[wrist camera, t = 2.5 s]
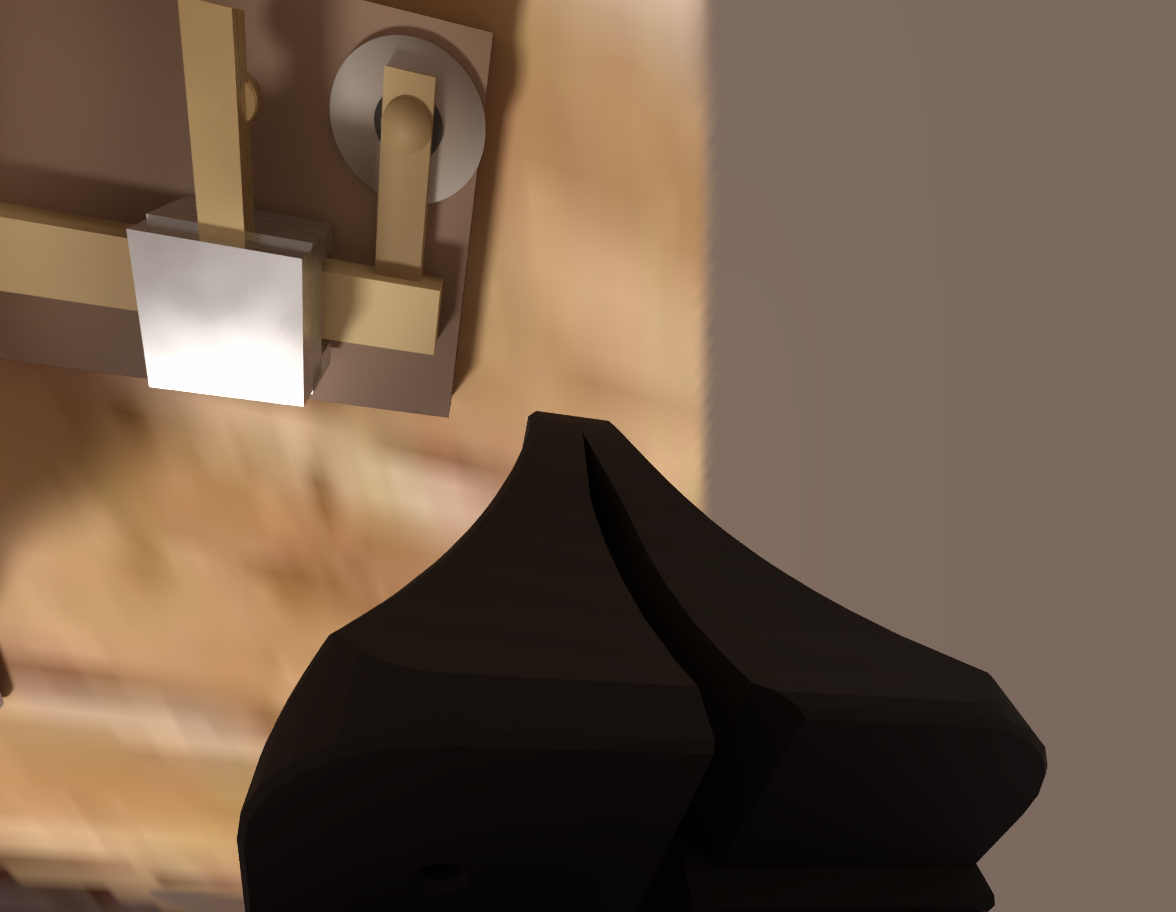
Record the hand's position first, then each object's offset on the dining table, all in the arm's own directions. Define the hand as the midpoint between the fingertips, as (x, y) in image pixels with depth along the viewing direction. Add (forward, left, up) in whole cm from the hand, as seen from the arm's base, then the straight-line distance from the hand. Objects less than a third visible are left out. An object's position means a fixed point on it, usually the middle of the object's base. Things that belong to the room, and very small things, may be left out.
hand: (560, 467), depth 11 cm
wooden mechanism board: (-9, +1, -8) cm, 12 cm away
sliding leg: (-7, +2, -6) cm, 9 cm away
